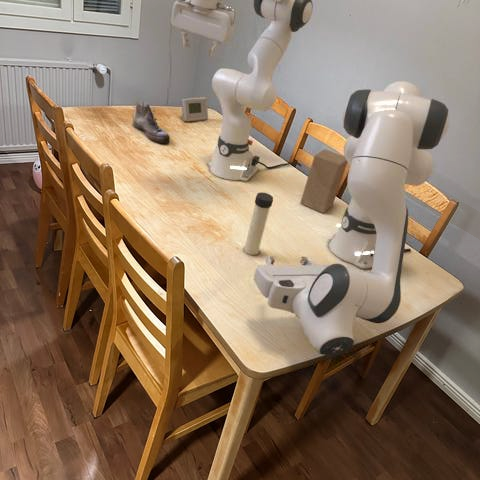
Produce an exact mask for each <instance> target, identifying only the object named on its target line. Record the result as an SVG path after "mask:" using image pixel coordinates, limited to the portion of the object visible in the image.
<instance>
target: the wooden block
mask: <svg viewBox="0 0 480 480" xmlns="http://www.w3.org/2000/svg"><path fill="white" fill-rule="evenodd" d="M348 164H349V163H348V162H347V161H346V159H345V156H344V155H341V154H338V153H336V152H334V151H331V150H328V149H326V148H325V149H323V150H320V152H318V153H316V154H314V156H313V160H312V163H311V166H310V168H309V169H310V170H309V173H308V177H307V179H306V182H305V186H304V189H303V192H302V196H301V199H300V204H302V205H303V206H305V207H307V208H309V209H310V208H311V209H312V210H315V211H317V212H319V213H322V214H324V213H326V212H327V211H328V210H329V209H330V208H332V206H333V205H334V203H335V200H336V197H337V195H338V191H339V188H340V185H341V182H342V180H343V177H344V174H345V171H346V168H347V165H348Z"/></svg>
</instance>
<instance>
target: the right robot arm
mask: <svg viewBox="0 0 480 480" xmlns="http://www.w3.org/2000/svg"><path fill="white" fill-rule="evenodd" d="M343 107H344V108H343V111H342V123H343V130H344V131H345V132H346V133H347V134H348V135H349V136H348V137H347V139H346V140H345V141H344V144H343V156H344V157H345V159H346V161H347V162H348V163H347V164H348V165H349V169H348V173H347V181H346V182H347V190H348V192H349V195H350V197H351V198H350V201H349V203H348V207H346V209H345V210H344V213H343V215H342V219H341V223H337V224H336V227H338V229H337V232H336V233H335V234H334V236H333V238H332V239H331V240H330V241H329V243H328V248H329V250H330V251H331V252H332V254H334V256H336V257H338V258H339V259H341V260H342V261H344V262H347V263H350V264H352V265H354V266H356V267H357V268H356V267H353V266H349V265H347V264H346V265H345V264H343V263H342V264H341V263H332V264H317V263H316V262H314V261H312V260H311V259H309V257H308V256H301V258H300V260H299V261H300V264H275V258H274V256H266V258H265V264H260V265H257V266H256V268H255V271H254V275H253V280H254V284H256V286H257V289H258V291H259V292H260V294H261V295H262V296H263V297H264V298H266V299H267V305H268V307H269V308H272V309H276V310H282V311H285V312H289V313H291V314H294V315H295V317H296V318H297V319H298V320H299V321H300V322H299V323H300V327H301V329H302V331H303V333H304V335H305V337H306V338H307V340H308V342H309V343H310V345H311V346H312V347H313V349H314V350H315V351H316V352H317V353H319V354H320V355H323V356H328V357H337V356H340V355H343V354H345V353H347V352H348V351H350V350H351V349H352V348H353V347H354V345H355V338H354V332H353V331H354V322H355V318H359V319H361V320H364V321H367V322H369V323H372V324H377V325H379V324H383V323H386V322H388V321H389V320H390V319H392V317H394V316H395V314H396V313H397V312H398V310H399V308H400V305H401V301H402V300H401V298H402V289H401V276H402V269H403V261H404V255H405V252H406V253H407V252H411V248H406V241H407V235H408V226H409V208H408V206H407V204H406V185H408V186H413V187H418V186H421V185H422V184H424V183H426V182H427V181H428V180H429V178H431V176H432V174H433V171H434V166H435V165H434V163H435V162H434V158H433V156H432V154H431V153H429V152H428V150H433V149H435V148H436V147H437V146H438V145H439V143H440V142H441V141H442V140H443V139H444V137H445V136H446V134H447V132H448V129H449V125H450V116H449V108H448V107H447V105H446V104H445V103H444V102H441V101H439V100H437V99H434V98H432V99H428V98H426V97H422V92H421V91H420V89H419V88H418V86H416V85H415V84H413V83H412V82H410V81H405V80H401V81H395V82H392V83H390V84H388V85H387V86H386V87H385V88H384V89H383V90H381V91H380V90H371V89H367V88H365V89H358V90H355V91H354V92H352V94H350V96H349V98H348V99H347V101H346V103H345V105H344V106H343ZM359 268H360V269H359ZM370 268H371V270H370V272H369V271H365V270H366V269H370ZM362 269H363V270H362ZM364 269H365V270H364Z"/></svg>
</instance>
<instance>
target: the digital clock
mask: <svg viewBox="0 0 480 480" xmlns="http://www.w3.org/2000/svg"><path fill="white" fill-rule="evenodd" d="M181 112H182V114H181V118H182V121H183V122H190V123H191V122H199V121H201V122H202V121H203V120H208V119H209V110H208V99H207V97H206V96H200V97H199V96H197V97H187V98H182V99H181Z"/></svg>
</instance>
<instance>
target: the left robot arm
mask: <svg viewBox="0 0 480 480" xmlns="http://www.w3.org/2000/svg"><path fill="white" fill-rule="evenodd" d="M222 1H223V0H175V1H174V3H173V6H172V12H171V24H172V27H173V28H176V29H179V30H180V36H181V38H182V47H183V48H187V49H191V44H192V41H190V40H189V35H190V33H191V34H194V35H198V36H200V37H204V38H206V39H210V40H213V41H212V47H211V48H208V53H207V56H209V57H213V58H214V57H216V54H217V50H219V48H220V46H221V45H222V44H230V43H231V42H232V41H233V40H234V33H235V22H236V21H235V20H236V12H235V10H234V9H233V7H232V6H230V5H225V4H223V3H222ZM313 8H314V5H313V1H312V0H253V9H254V12H255V14H256V15H257V16H258V17H261V18H262V19H267V20H270V24H269V25H268V26H267V28H265V29H264V30H263V32H262V33H261V34H260V36H259V38H258V39H257V40H256V41H255V43H254V45H253V46H252V47H251V49H250V51H249V52H248V55H247V64H248V67H249V69H250V70H251V72H250V73H245V72H242V71H239V70H237V69H234V68H225V67H223V68H222V67H221V68H219V69H218V70H216V71H215V73H214V74H213V77H212V80H211V89H212V91H213V93H214V94H215V95H216V97H217V99H218V101H219V104H220V108H221V114H222V115H221V116H222V118H221V120H222V121H221V127H220V135H219V136H218V139H217V145H216V146H215V147H214V149H213V153H212V157H211V160H209V161H208V164H207V165H208V166H209V170H210V172H211V173H212V174H213V175H215V176H216V177H218V178H220V179H225V180H229V181H242V182H247V181H249V179H251V177H253V176H254V175H255V174H256V173H257V172H258V171H259V166H258V165H261V166H263V167H264V168H266V169H267V170H269V169H275V168H278V167H281V166H289V165H298V166H299V167H300V168H301V167H303V166H302V164H301V163H300V162H295V161H293V162H292V161H291V162H286V163H280V164H276V165H272V166H267V165H266V163H263V162H261V161H260V156H258V155H256V154H255V155H254V154H253V153H252V152H251V151H250V146H252V145H253V143H254V141H253V140H251V139H249V138H250V133H251V129H252V121H251V118H250V117H249V116H248V115H247V113H246V112H245V109H244V107H245V108H247V109H250V110H253V111H258V112H259V111H260V112H267V111H269V110H270V109H271V108H273V106H274V104H275V102H276V100H277V90H276V87H275V85H274V83H273V75H274V72H275V70H276V68H277V66H278V65H279V63H280V62H281V60H282V58H283V57H284V55H285V53H286V51H287V49H288V47H289V45H290V43H291V40H292V36H293V33H297V32H298V31H299V30H300V29H302V28H304V26H305V25H307V23H309V21H310V19H311V16H312V13H313Z"/></svg>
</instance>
